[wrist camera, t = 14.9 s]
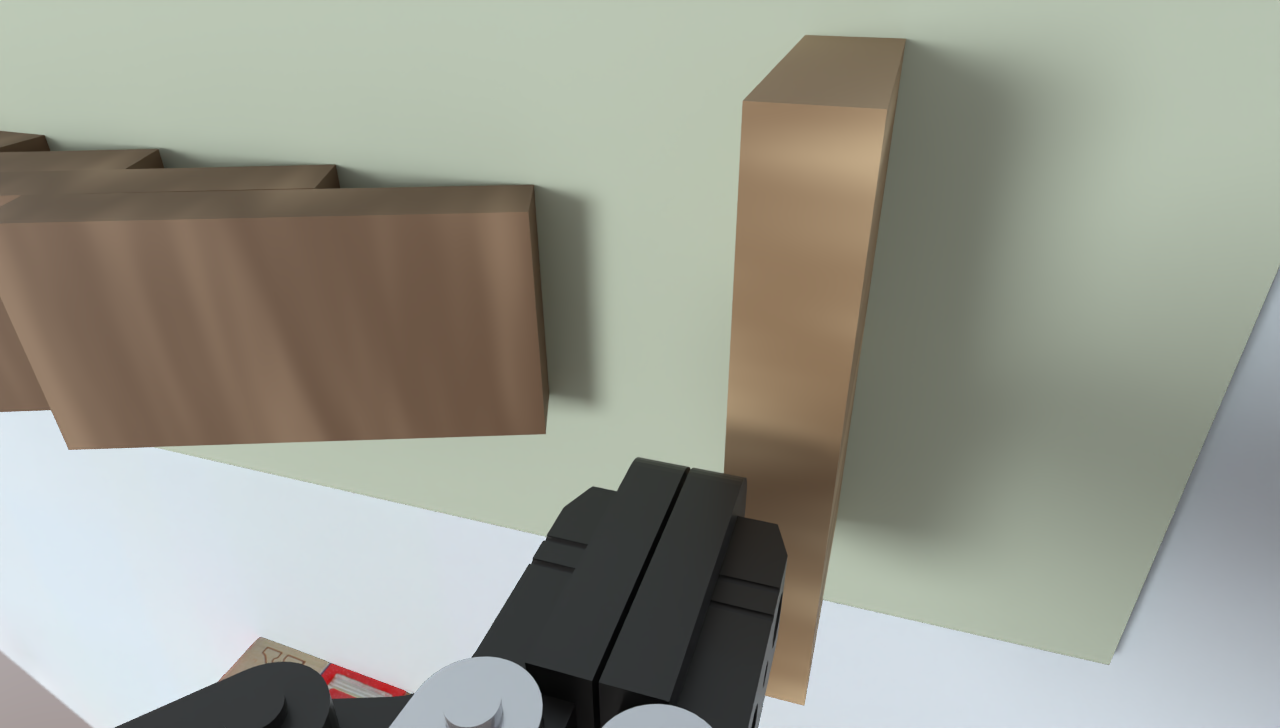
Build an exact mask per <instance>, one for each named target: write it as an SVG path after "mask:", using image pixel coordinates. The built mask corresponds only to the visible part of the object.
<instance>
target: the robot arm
mask: <svg viewBox="0 0 1280 728" xmlns="http://www.w3.org/2000/svg"><path fill="white" fill-rule="evenodd" d="M746 495H747V478H745V477H740V476H735V475H730V474H725V473H720V472H715V471H709V470H704V469H699V468H692V469H690V467H688V466H682V465H677V464H672V463H667V462H662V461H657V460H651V459H646V458H641V457H637V458H635V459H634V461H633V462H632V464H631V465H630V467H629V469H628V471H627V473H626V475H625V477H624V479H623V480H622V482H621V484H620V486H619V488H618V490H617V491H614V490H609V489H604V488H599V487H594V486H592V487H591V488H589V489H588V490H587V491H585V492H584V493H582V494H581V495H580V496H578V497H577V498H576V499H574V500H573V501H571V502H570V503H569V504H567V505H566V506H565V507H563V509H562V511H561V512H560V514H559V516H558V517H557V519H556V521H555V522H554V524H553V526H552V527H551V529H550V530H549V532H548V534H547V538H546V541H543V542H542V544H541V545H540V547H539V549H538V550H537V552H536V554H535V555H534V557H533V561H532V564H529V565H528V567H527V568H526V570H525V572H524V573H523V575H522V577H521V578H520V580H519V582H518V583H517V585H516V586H515V588H514V590H513V591H512V593H511V595H510V596H509V598H508V600H507V601H506V603H505V605H504V606H503V608H502V609H501V611H500V613H499V614H498V616H497V618H496V619H495V621H494V623H493V624H492V626H491V628H490V629H489V631H488V633H487V634H486V636H485V637H484V639H483V641H482V642H481V644H480V646H479V647H478V649H477V651H476V652H475V653H474V655H473V656H472V658H468V659H464V660H461V661H457V662H454V663H452V664H450V665H448V666H446V667H444V668H442V669H441V670H439V671H437V672H436V673H434V674H433V675H432V676H431V677H429V678H428V679H427V680H426V681H425V682H424V683H423V684H422V685H421V686H420V687H419V689H418V690H417V691H416V692H415V693H413V694H409V695H404V696H394V697H368V698H339V699H332V698H331V695H330V692H329V688H328V685H327V683H326V682H325V680H324V678H323V677H322V676H321V675H320V674H319V673H318V672H317V671H315V670H314V669H312V668H311V667H309V666H306V665H303V664H301V663H295V662H272V663H266V664H262V665H258V666H255V667H252V668H249V669H247V670H244V671H242V672H239V673H237V674H235V675H233V676H230V677H228V678H226V679H224V680H221V681H219V682H217V683H215V684H212V685H210V686H208V687H205V688H203V689H201V690H199V691H196V692H194V693H192V694H190V695H187V696H185V697H183V698H181V699H178V700H176V701H174V702H172V703H169V704H167V705H165V706H162V707H160V708H158V709H156V710H153V711H151V712H149V713H147V714H144V715H142V716H140V717H138V718H135V719H133V720H131V721H129V722H126V723H124V724H122V725H120V726H117V727H115V728H758V725H759V721H760V716H761V712H762V707H763V701H764V698H765V693H766V689H767V684H768V680H769V674H770V670H771V666H772V661H773V657H774V652H775V648H776V643H777V638H778V631H779V623H780V614H781V606H782V598H783V590H784V582H785V574H786V566H787V558H788V555H787V552H786V548H785V545H784V542H783V539H782V536H781V533H780V530H779V526H778V524H774V523H769V522H764V521H760V520H755V519H750V518H745V507H746Z"/></svg>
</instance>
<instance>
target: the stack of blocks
mask: <svg viewBox="0 0 1280 728" xmlns="http://www.w3.org/2000/svg"><path fill="white" fill-rule="evenodd" d="M272 662H295V663H301V664H303V665H306V666H309V667H311V668H312V669H314V670H315V671H317V672H318V673H319V674H320V675H321V676H322V677H323V678H324V680H325V682H326V683H327V685H328V688H329V692H330V695H331V698H332V699H339V698H368V697H394V696H404V695H409V693H407V692H406V691H404V690H402V689H399V688H396V687H394V686H391V685H389V684H386V683H383V682H380V681H378V680H375V679H372V678H369V677H367V676H364V675H362V674H359V673H356V672H353V671H351V670H348V669H345V668H343V667H340V666H337V665H334V664H332V663H329V662H327V661H325V660H322V659H319V658H317V657H314V656H311V655H309V654H306V653H303V652H301V651H298V650H295V649H293V648H290V647H287V646H285V645H282V644H279V643H276V642H274V641H271V640H268V639H266V638H262V637H260V638H258V639H257V640H256V641H255V642H254V643H253V644H252V645H251V646H250V647H249V648H248V650H247V651H246V652H245V653H244V654H243V655H242V656H241V657H240V658H239V660H238V661H237V662H236V663H235V664H234V665H233V666H232V667H231V668H230V670H229V671H228V672H227V673H226V674H224V675H223V676H222V678H221V679H220V680H219V681H221V680H224V679H226V678H228V677H230V676H233V675H235V674H237V673H239V672H242V671H244V670H247V669H249V668H252V667H255V666H258V665H262V664H266V663H272ZM219 681H218V682H219Z"/></svg>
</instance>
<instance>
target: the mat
mask: <svg viewBox="0 0 1280 728" xmlns="http://www.w3.org/2000/svg"><path fill="white" fill-rule="evenodd" d="M805 35H819V36H847V37H876V38H904V39H906V42H905V49H904V56H903V63H902V70H901V77H900V84H899V91H898V98H897V105H896V112H895V119H894V125H893V132H892V139H891V146H890V153H889V160H888V167H887V174H886V181H885V188H884V195H883V202H882V209H881V216H880V222H879V229H878V236H877V243H876V250H875V257H874V264H873V271H872V278H871V285H870V292H869V299H868V306H867V312H866V319H865V326H864V333H863V340H862V347H861V354H860V361H859V368H858V375H857V382H856V389H855V396H854V402H853V409H852V416H851V423H850V430H849V437H848V444H847V451H846V458H845V465H844V472H843V479H842V486H841V492H840V499H839V506H838V513H837V520H836V526H835V531H834V537H833V543H832V549H831V555H830V560H829V566H828V572H827V578H826V583H825V589H824V595H823V600H826V601H830V602H835V603H839V604H843V605H848V606H852V607H857V608H861V609H865V610H870V611H874V612H879V613H883V614H887V615H892V616H896V617H900V618H905V619H909V620H914V621H918V622H922V623H927V624H931V625H936V626H940V627H944V628H949V629H953V630H957V631H962V632H966V633H971V634H975V635H979V636H984V637H988V638H992V639H997V640H1001V641H1006V642H1010V643H1014V644H1019V645H1023V646H1028V647H1032V648H1036V649H1041V650H1045V651H1049V652H1054V653H1058V654H1063V655H1067V656H1071V657H1076V658H1080V659H1085V660H1089V661H1093V662H1098V663H1102V664H1106V665H1109V664H1110V662H1111V659H1112V657H1113V655H1114V652H1115V650H1116V648H1117V645H1118V643H1119V641H1120V638H1121V636H1122V634H1123V631H1124V629H1125V627H1126V624H1127V622H1128V620H1129V617H1130V615H1131V613H1132V610H1133V608H1134V606H1135V603H1136V601H1137V599H1138V596H1139V594H1140V592H1141V589H1142V587H1143V585H1144V582H1145V580H1146V577H1147V575H1148V573H1149V570H1150V568H1151V566H1152V563H1153V561H1154V559H1155V556H1156V554H1157V552H1158V549H1159V547H1160V545H1161V542H1162V540H1163V538H1164V535H1165V533H1166V531H1167V528H1168V526H1169V524H1170V521H1171V519H1172V517H1173V514H1174V512H1175V510H1176V507H1177V505H1178V503H1179V500H1180V498H1181V496H1182V493H1183V491H1184V489H1185V486H1186V484H1187V481H1188V479H1189V477H1190V474H1191V472H1192V470H1193V467H1194V465H1195V463H1196V460H1197V458H1198V456H1199V453H1200V451H1201V449H1202V446H1203V444H1204V442H1205V439H1206V437H1207V435H1208V432H1209V430H1210V428H1211V425H1212V423H1213V421H1214V418H1215V416H1216V414H1217V411H1218V409H1219V407H1220V404H1221V402H1222V400H1223V397H1224V395H1225V393H1226V390H1227V388H1228V385H1229V383H1230V381H1231V378H1232V376H1233V374H1234V371H1235V369H1236V367H1237V364H1238V362H1239V360H1240V357H1241V355H1242V353H1243V350H1244V348H1245V346H1246V343H1247V341H1248V339H1249V336H1250V334H1251V332H1252V329H1253V327H1254V325H1255V322H1256V320H1257V318H1258V315H1259V313H1260V311H1261V308H1262V306H1263V304H1264V301H1265V299H1266V297H1267V294H1268V292H1269V290H1270V287H1271V285H1272V282H1273V280H1274V278H1275V275H1276V273H1277V271H1278V268H1279V266H1280V0H0V131H8V132H18V133H28V134H38V135H45V137H46V140H47V143H48V145H49V148H50V151H82V150H126V149H159V152H160V155H161V159H162V162H163V165H164V168H202V167H245V166H289V165H332V164H336V169H337V174H338V179H339V184H340V188H388V187H437V186H486V185H534V193H535V206H536V220H537V233H538V247H539V260H540V274H541V288H542V301H543V315H544V328H545V342H546V356H547V369H548V383H549V404H548V415H547V426H546V434H538V435H507V436H477V437H446V438H415V439H384V440H354V441H323V442H292V443H262V444H231V445H200V446H169V447H155V448H160V449H164V450H169V451H173V452H177V453H182V454H186V455H190V456H195V457H199V458H204V459H208V460H212V461H217V462H221V463H226V464H230V465H234V466H239V467H243V468H247V469H252V470H256V471H261V472H265V473H269V474H274V475H278V476H283V477H287V478H291V479H296V480H300V481H304V482H309V483H313V484H318V485H322V486H326V487H331V488H335V489H339V490H344V491H348V492H353V493H357V494H361V495H366V496H370V497H375V498H379V499H383V500H388V501H392V502H396V503H401V504H405V505H410V506H414V507H418V508H423V509H427V510H432V511H436V512H440V513H445V514H449V515H453V516H458V517H462V518H467V519H471V520H475V521H480V522H484V523H488V524H493V525H497V526H502V527H506V528H510V529H515V530H519V531H524V532H528V533H532V534H537V535H541V536H545V537H547V534H548V532H549V530H550V529H551V527H552V526H553V524H554V522H555V521H556V519H557V517H558V516H559V514H560V512H561V511H562V509H563V507H565V506H566V505H567V504H569V503H570V502H571V501H573V500H574V499H576V498H577V497H578V496H580V495H581V494H582V493H584V492H585V491H587V490H588V489H589V488H591V487H592V486H594V487H599V488H604V489H609V490H614V491H617V490H618V488H619V486H620V484H621V482H622V480H623V479H624V477H625V475H626V473H627V471H628V469H629V467H630V465H631V464H632V462H633V461H634V459H635V458H637V457H641V458H646V459H651V460H657V461H662V462H667V463H672V464H677V465H682V466H688V467H690V469H692V468H699V469H704V470H709V471H715V472H720V473H724V459H725V439H726V419H727V399H728V379H729V360H730V340H731V320H732V300H733V281H734V261H735V241H736V221H737V201H738V182H739V162H740V142H741V122H742V102H743V100H744V99H745V98H746V97H747V96H748V95H749V94H750V93H751V91H752V90H753V89H754V88H755V87H756V86H757V85H758V84H759V83H760V82H761V81H762V80H763V79H764V78H765V77H766V76H767V75H768V74H769V73H770V71H771V70H772V69H773V68H774V67H775V66H776V65H777V64H778V63H779V62H780V61H781V60H782V59H783V58H784V57H785V56H786V55H787V54H788V53H789V51H790V50H791V49H792V48H793V47H794V46H795V45H796V44H797V43H798V42H799V41H800V40H801V39H802V38H803V37H804V36H805Z"/></svg>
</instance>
